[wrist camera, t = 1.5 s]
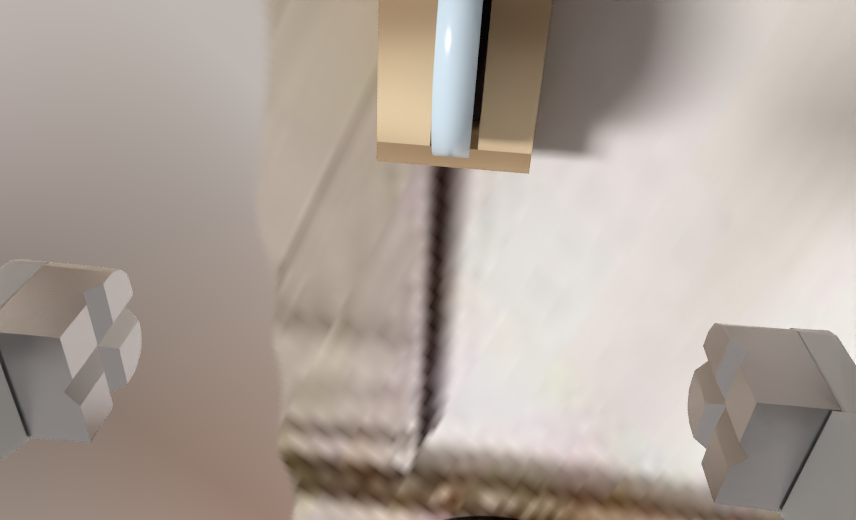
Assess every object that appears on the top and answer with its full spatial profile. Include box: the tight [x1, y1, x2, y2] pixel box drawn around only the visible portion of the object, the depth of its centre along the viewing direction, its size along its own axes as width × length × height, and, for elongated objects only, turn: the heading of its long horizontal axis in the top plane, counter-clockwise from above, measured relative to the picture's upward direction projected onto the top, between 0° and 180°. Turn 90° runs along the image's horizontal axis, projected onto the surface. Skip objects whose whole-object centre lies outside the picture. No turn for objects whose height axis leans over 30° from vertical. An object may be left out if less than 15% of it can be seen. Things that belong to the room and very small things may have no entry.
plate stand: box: [377, 0, 553, 174], centre depth 26 cm, size 11×6×3 cm, turn 177°
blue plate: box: [431, 0, 483, 158], centre depth 23 cm, size 8×1×8 cm, turn 177°
